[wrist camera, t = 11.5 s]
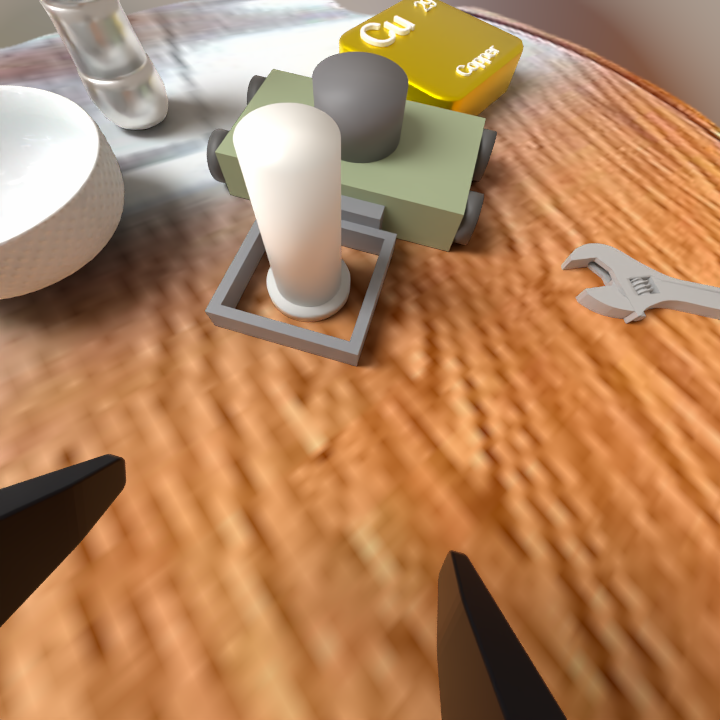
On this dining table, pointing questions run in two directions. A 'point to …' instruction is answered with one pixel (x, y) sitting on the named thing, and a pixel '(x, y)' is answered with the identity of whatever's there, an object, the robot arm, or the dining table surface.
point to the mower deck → (363, 182)
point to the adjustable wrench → (637, 287)
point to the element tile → (440, 53)
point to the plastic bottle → (110, 61)
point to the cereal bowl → (52, 189)
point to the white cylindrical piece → (297, 205)
